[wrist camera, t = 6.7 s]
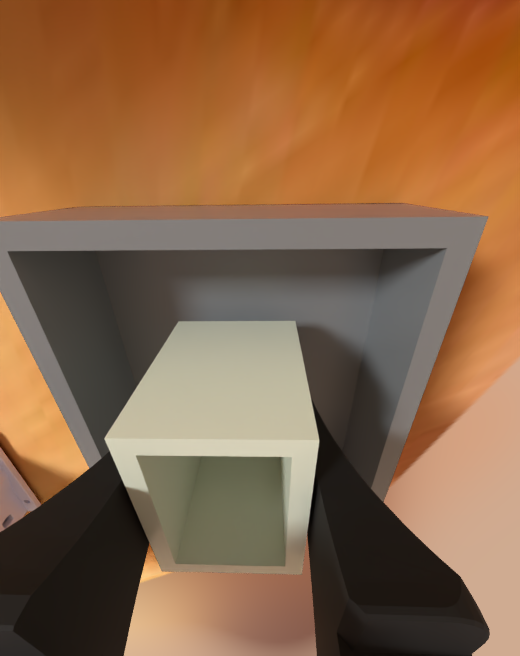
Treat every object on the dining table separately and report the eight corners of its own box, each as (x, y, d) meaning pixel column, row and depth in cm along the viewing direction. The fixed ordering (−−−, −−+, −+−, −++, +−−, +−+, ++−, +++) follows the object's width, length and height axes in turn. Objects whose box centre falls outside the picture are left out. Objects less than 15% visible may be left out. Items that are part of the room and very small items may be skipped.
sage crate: (289, 434, 15) (301, 574, 9) (199, 433, 15) (161, 571, 10) (295, 320, 11) (319, 440, 6) (178, 321, 12) (104, 438, 6)
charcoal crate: (348, 451, 19) (372, 532, 15) (152, 448, 19) (119, 527, 15) (402, 203, 11) (488, 216, 7) (78, 206, 12) (-36, 221, 7)
